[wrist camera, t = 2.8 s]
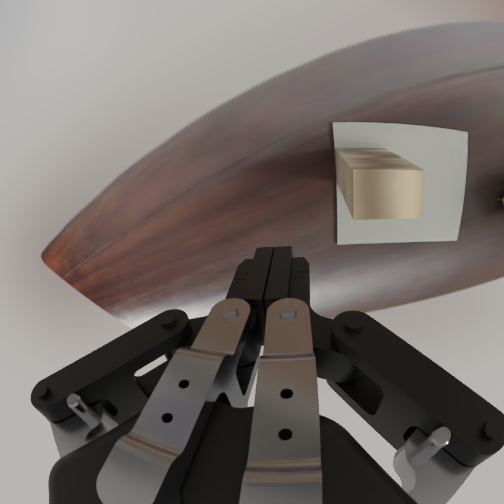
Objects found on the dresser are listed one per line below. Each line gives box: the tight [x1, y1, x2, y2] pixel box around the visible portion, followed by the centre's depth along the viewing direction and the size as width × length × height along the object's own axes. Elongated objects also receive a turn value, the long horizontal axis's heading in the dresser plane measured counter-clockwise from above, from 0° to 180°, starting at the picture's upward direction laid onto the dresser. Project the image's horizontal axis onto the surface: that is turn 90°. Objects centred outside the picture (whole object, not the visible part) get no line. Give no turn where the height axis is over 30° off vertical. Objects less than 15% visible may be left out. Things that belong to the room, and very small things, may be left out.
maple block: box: [335, 148, 425, 220], centre depth 23 cm, size 6×4×11 cm, turn 98°
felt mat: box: [332, 122, 468, 245], centre depth 28 cm, size 18×15×1 cm
